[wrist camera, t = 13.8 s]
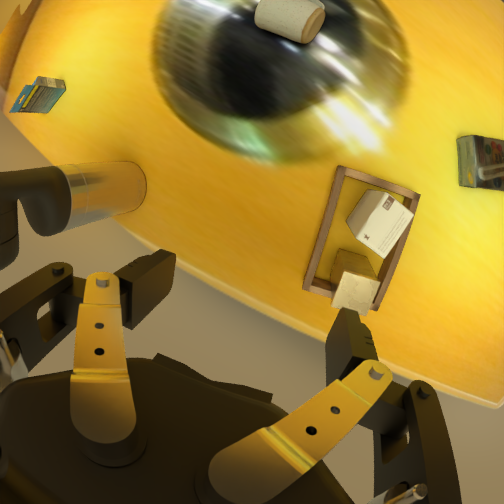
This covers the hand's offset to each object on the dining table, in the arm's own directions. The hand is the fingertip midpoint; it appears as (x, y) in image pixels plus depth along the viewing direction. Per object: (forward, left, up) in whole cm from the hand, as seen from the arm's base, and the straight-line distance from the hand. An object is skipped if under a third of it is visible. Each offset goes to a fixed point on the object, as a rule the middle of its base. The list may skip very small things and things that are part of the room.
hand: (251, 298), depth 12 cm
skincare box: (+10, +3, -29) cm, 31 cm away
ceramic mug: (-7, +30, -29) cm, 43 cm away
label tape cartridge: (-60, +15, -29) cm, 69 cm away
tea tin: (+10, -6, -29) cm, 31 cm away
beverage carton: (+31, +18, -29) cm, 46 cm away
